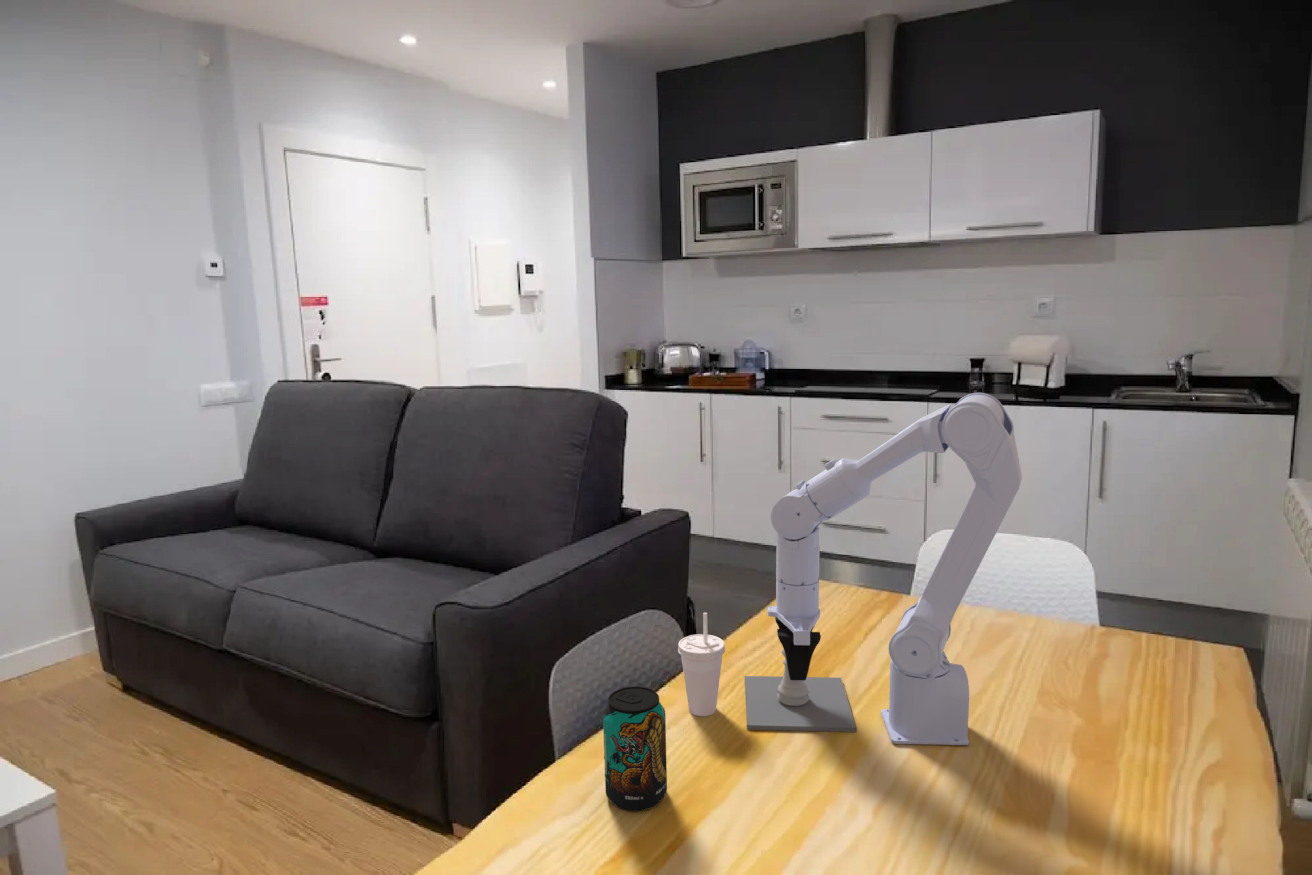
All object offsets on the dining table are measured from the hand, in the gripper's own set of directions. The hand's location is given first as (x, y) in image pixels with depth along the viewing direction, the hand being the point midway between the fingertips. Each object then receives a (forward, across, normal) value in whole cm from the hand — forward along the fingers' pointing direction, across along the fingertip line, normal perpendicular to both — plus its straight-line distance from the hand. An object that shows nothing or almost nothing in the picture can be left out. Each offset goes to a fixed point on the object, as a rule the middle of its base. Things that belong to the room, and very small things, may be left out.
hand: (796, 672), depth 114 cm
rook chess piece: (+4, 0, 0) cm, 4 cm away
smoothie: (+5, +2, -13) cm, 14 cm away
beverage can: (+5, +22, -20) cm, 30 cm away
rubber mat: (+5, 0, 0) cm, 5 cm away
